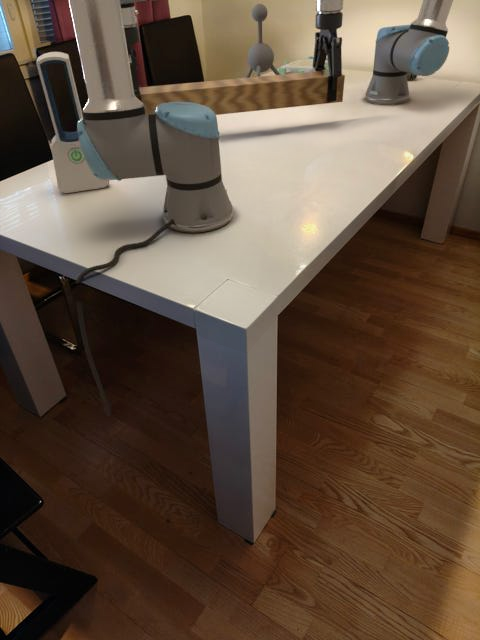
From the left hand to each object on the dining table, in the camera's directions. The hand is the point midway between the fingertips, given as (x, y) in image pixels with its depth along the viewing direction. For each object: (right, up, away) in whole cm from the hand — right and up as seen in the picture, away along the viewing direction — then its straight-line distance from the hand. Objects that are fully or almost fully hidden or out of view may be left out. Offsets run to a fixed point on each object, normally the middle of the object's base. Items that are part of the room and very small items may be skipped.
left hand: (138, 116), depth 142 cm
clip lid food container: (+58, +44, +66) cm, 98 cm away
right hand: (+56, +10, +9) cm, 58 cm away
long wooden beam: (+28, +4, +5) cm, 29 cm away
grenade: (+99, +38, +56) cm, 120 cm away
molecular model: (+40, +28, +48) cm, 68 cm away
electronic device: (-10, -25, -16) cm, 32 cm away
